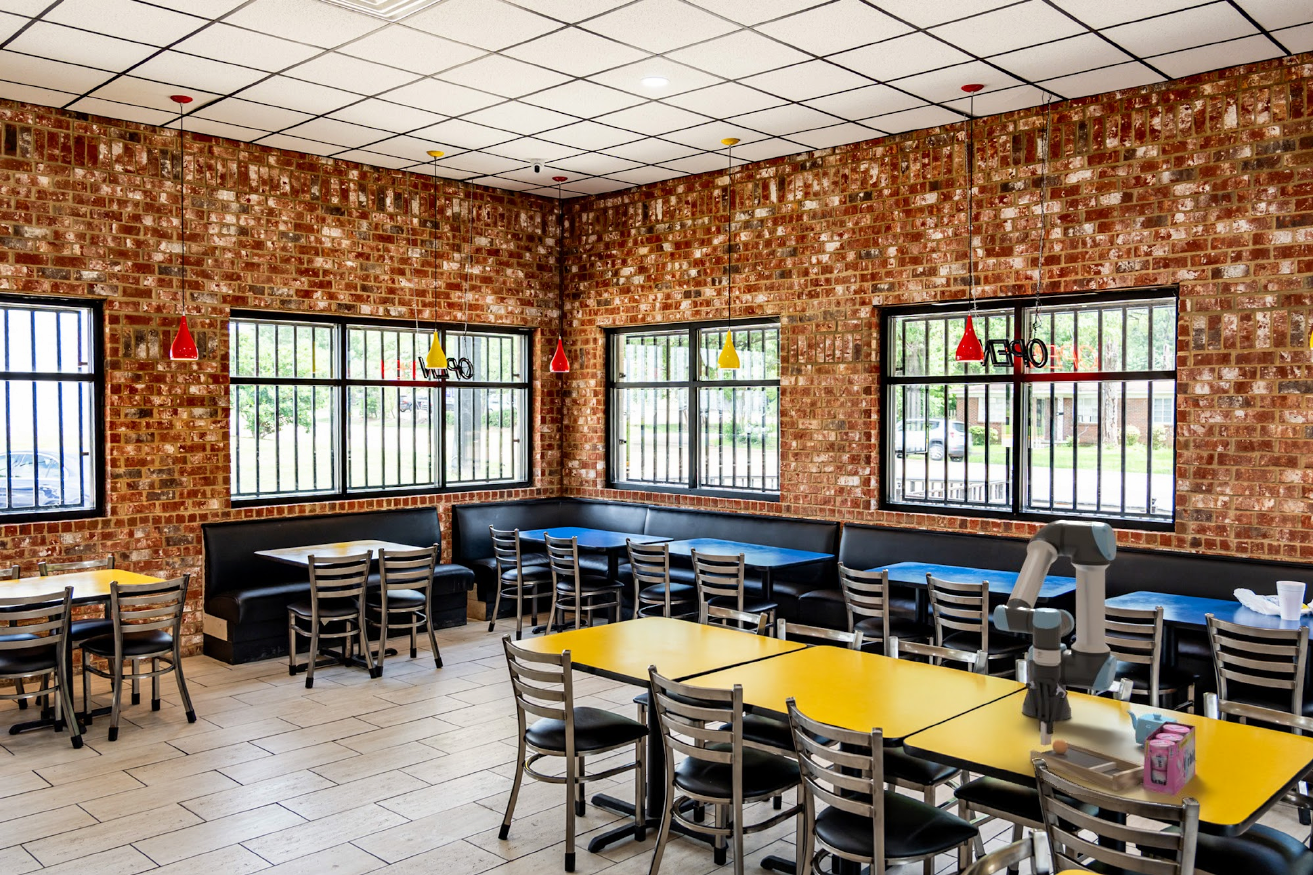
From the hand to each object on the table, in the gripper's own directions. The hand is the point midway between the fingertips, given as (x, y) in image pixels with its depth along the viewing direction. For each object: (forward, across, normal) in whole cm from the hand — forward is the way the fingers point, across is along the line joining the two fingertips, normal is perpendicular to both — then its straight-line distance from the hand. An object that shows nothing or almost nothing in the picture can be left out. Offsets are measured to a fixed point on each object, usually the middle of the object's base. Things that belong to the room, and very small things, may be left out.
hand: (1045, 744), depth 295 cm
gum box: (+4, +31, +12) cm, 33 cm away
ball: (0, +5, 0) cm, 5 cm away
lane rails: (+3, +15, 0) cm, 15 cm away
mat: (+3, +14, 0) cm, 14 cm away
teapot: (+4, +11, +34) cm, 36 cm away
